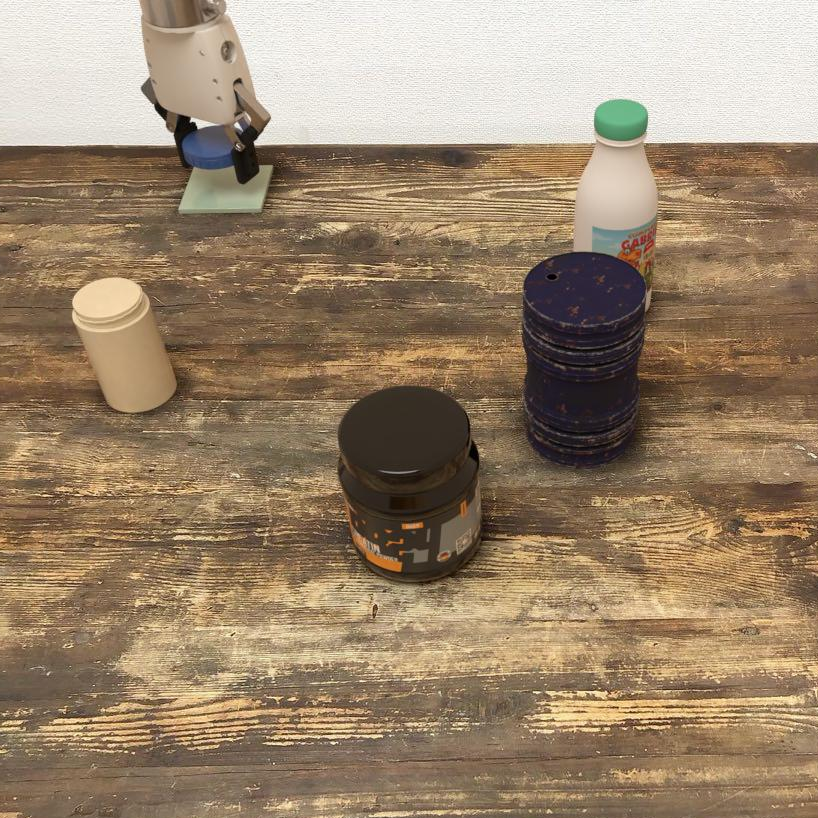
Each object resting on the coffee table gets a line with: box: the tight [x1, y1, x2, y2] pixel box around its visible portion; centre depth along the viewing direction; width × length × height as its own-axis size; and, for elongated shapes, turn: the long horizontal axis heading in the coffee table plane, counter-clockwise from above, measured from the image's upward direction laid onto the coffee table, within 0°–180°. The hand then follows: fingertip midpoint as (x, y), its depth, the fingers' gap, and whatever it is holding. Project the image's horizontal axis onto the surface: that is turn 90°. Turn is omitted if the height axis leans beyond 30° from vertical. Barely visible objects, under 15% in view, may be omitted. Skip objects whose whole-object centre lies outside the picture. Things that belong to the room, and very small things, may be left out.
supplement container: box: [336, 384, 484, 583], centre depth 81 cm, size 10×10×12 cm
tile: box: [177, 164, 275, 215], centre depth 120 cm, size 9×9×1 cm
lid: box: [182, 124, 243, 170], centre depth 116 cm, size 7×7×2 cm
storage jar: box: [521, 251, 647, 469], centre depth 88 cm, size 10×10×15 cm
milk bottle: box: [572, 98, 659, 312], centre depth 98 cm, size 8×8×20 cm
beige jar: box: [71, 277, 178, 414], centre depth 94 cm, size 6×6×10 cm
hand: (220, 169), depth 118 cm, fingers closed on lid, 6 cm apart
